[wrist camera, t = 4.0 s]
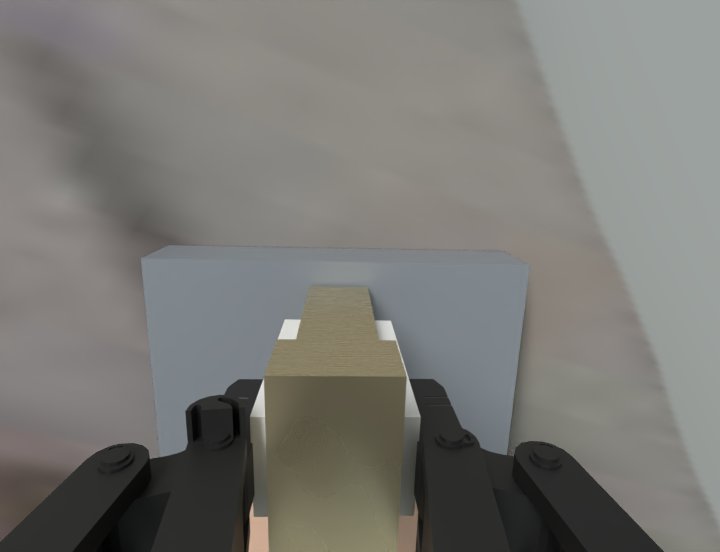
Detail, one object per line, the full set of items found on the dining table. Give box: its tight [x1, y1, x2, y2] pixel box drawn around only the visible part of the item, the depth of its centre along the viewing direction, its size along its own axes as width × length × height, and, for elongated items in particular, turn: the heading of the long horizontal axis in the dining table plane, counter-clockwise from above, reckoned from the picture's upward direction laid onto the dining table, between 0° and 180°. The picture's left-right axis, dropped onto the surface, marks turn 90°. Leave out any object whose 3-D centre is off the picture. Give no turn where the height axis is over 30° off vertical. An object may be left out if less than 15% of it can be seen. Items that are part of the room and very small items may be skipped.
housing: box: [141, 245, 530, 457], centre depth 22 cm, size 22×16×4 cm
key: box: [264, 286, 407, 552], centre depth 14 cm, size 12×2×11 cm, turn 179°
